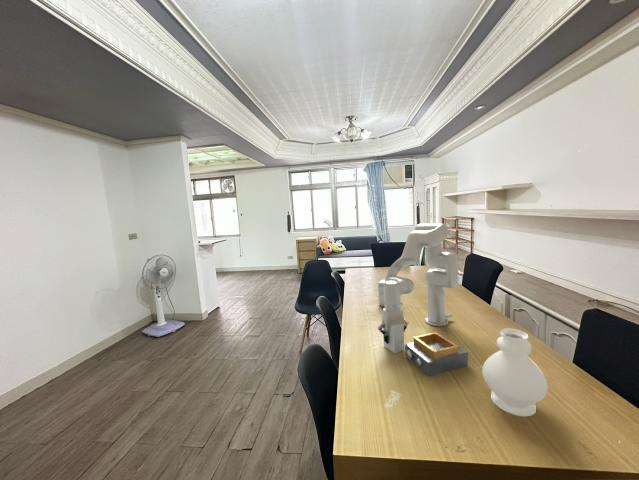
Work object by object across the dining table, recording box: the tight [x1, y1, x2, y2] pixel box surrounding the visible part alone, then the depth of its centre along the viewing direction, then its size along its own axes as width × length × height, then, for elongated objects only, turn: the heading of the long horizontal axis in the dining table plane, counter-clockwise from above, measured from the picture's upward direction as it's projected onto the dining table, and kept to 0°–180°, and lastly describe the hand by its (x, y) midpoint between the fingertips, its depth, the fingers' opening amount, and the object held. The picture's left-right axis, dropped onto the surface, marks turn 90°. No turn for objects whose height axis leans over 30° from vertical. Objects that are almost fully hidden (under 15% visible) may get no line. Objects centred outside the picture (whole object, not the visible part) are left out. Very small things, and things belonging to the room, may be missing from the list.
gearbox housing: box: [404, 331, 469, 377], centre depth 117 cm, size 21×16×9 cm
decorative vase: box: [481, 328, 548, 417], centre depth 90 cm, size 18×18×25 cm
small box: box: [382, 324, 405, 354], centre depth 130 cm, size 8×6×13 cm
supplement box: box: [377, 279, 385, 307], centre depth 187 cm, size 10×9×17 cm
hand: (393, 340), depth 130 cm, fingers open, 7 cm apart
